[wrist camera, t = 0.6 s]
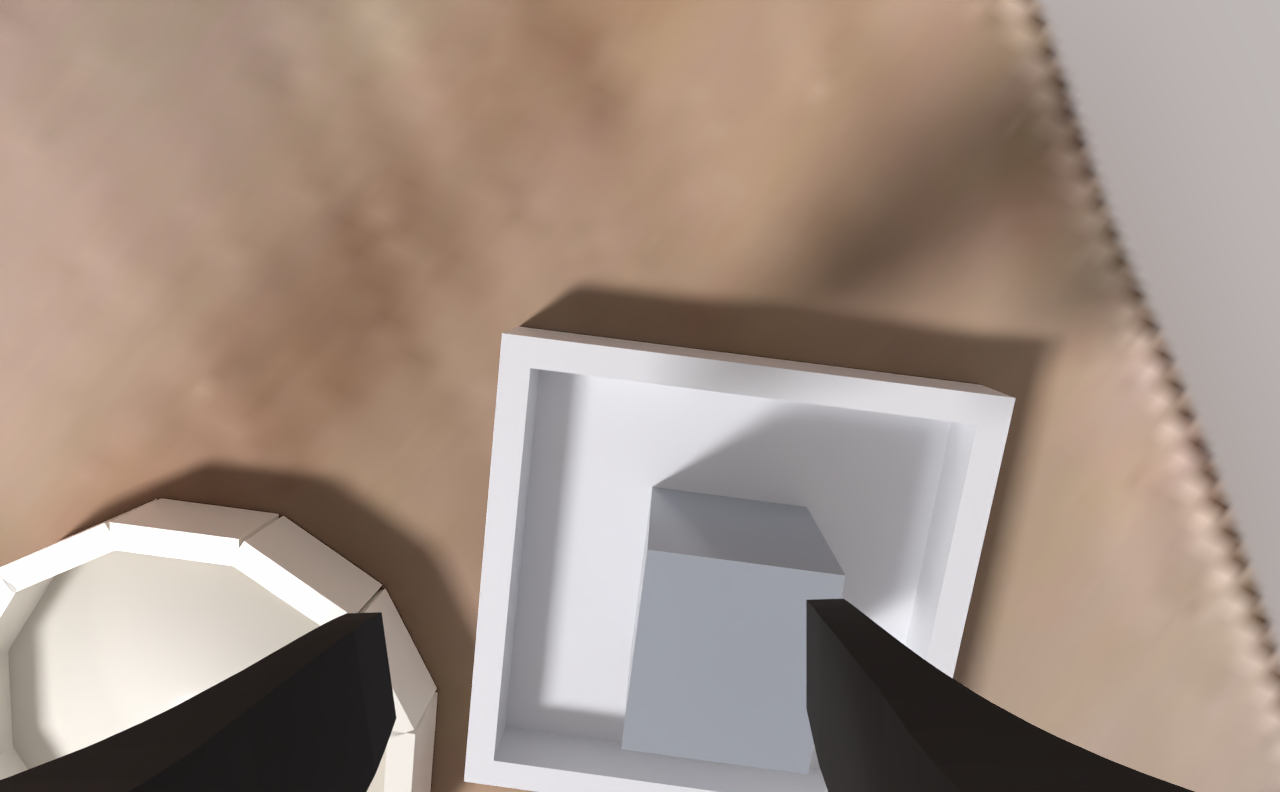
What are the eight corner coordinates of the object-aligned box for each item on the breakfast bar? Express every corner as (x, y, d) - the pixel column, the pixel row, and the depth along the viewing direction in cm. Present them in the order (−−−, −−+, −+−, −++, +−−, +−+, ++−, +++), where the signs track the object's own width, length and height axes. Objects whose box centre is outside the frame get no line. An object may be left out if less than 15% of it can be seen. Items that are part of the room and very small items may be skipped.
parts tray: (893, 792, 22) (915, 844, 20) (482, 735, 22) (463, 781, 20) (981, 384, 20) (1015, 397, 18) (518, 326, 20) (502, 333, 18)
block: (778, 666, 21) (808, 774, 16) (631, 647, 21) (621, 748, 17) (807, 507, 20) (845, 575, 16) (652, 486, 20) (646, 549, 16)
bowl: (420, 928, 24) (397, 987, 22) (13, 870, 24) (-46, 924, 22) (449, 536, 21) (427, 564, 19) (-7, 476, 21) (-76, 497, 19)
